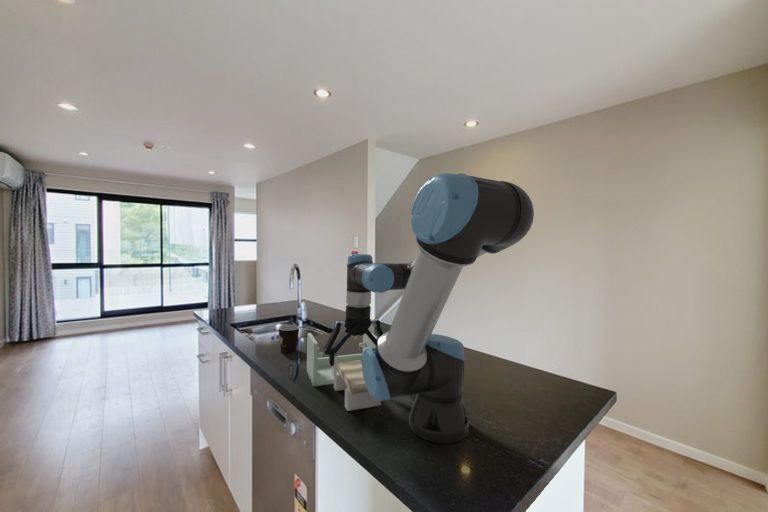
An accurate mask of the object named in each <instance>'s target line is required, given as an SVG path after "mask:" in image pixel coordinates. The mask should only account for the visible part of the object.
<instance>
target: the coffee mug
mask: <svg viewBox="0 0 768 512" xmlns="http://www.w3.org/2000/svg"><path fill="white" fill-rule="evenodd" d="M299 334H300V326H298V325H291V324H290V325H289V324H288V325H282V326H279V327H278V335H279V337H278V338H279V346H280V353H282V354H293V352H294V353H296V352H297V349H298V348H297V347H298V343H299ZM295 351H296V352H295Z"/></svg>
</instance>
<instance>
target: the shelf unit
mask: <svg viewBox="0 0 768 512" xmlns="http://www.w3.org/2000/svg"><path fill="white" fill-rule="evenodd" d="M371 333H372V335H373V336H374V337H375V338H376V340H377V341H379V336H378V335H375V334H374V333H373V332H371ZM306 338H307V339H306V342H307V343H306V346H307V347H306V373H308V374H307V376H308V378H309V380H311V381H310V383H311V385H312V387H320V386H325V385H326V386H327V385H334V377H333V375H332V366H330V364H329V356H325V357H324V351H321V352H320V350H321V348H320V346H319V343H318V341H317V340H316V338H315V337H314V335H313V334H312V333H311V332H308V333H307V337H306ZM358 347H359V348H362V353H354V354H346V355H345V354H343V355H337V363H338V362H347V361H356V360H360V361H361V362H362V355H363V352H364V351H365V350H366V349H369V348H376V346H375V344H374V343H373V342H372V341H371V340H370V338H369V337H368V336H367V335H366V334H364V335H362V342H359V343H358Z"/></svg>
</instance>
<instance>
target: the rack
mask: <svg viewBox="0 0 768 512" xmlns="http://www.w3.org/2000/svg"><path fill="white" fill-rule="evenodd" d="M333 389H334V390H335V392H337V391H344V408H345V410H346V411H347V412H348V411H355V410H361V409H367V408H373V407H378V406H381V405H382V401H377V400H375V399H374V398H372V397H371V395H370V394H369V392H364V393H358V394H352V393H351V391H350V390H349V388H348V387H347V385H346V384H345V382H344V381H343V379H342V378H341V376H340V375H339V373H338V372H337V378H334V384H333Z"/></svg>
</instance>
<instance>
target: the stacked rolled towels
mask: <svg viewBox="0 0 768 512" xmlns="http://www.w3.org/2000/svg"><path fill="white" fill-rule="evenodd" d="M337 372H338V373H339V375H340V376H341V378H342V379H343V381H344V382H345V384H346V385H347V387H348V388H349V390H350V391H351V393H352V394H358V393H364V392H368V390H367V388H366V385H365V381H364V377H363V372H362V362H361V361H360V360H356V361H347V362H338V363H337Z"/></svg>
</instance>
